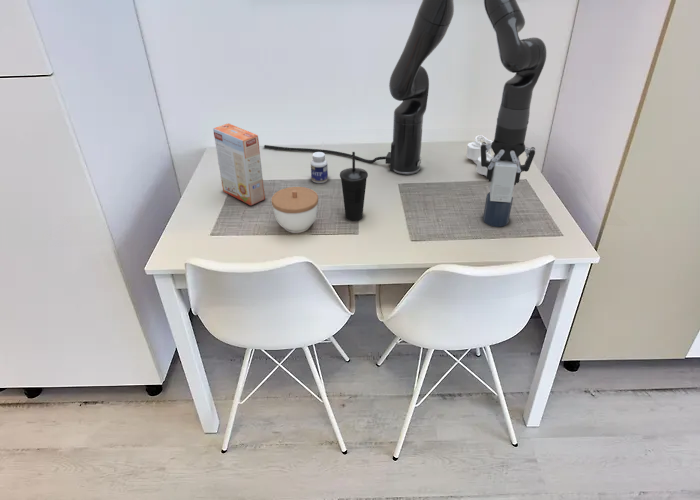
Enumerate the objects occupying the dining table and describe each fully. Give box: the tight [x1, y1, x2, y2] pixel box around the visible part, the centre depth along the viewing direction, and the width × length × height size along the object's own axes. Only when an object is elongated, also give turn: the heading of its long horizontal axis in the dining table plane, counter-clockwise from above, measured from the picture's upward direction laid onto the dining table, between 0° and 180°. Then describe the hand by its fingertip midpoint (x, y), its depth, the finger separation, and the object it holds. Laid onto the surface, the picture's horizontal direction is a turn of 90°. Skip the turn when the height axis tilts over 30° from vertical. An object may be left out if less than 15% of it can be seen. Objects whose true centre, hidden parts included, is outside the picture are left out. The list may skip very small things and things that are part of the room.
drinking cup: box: [339, 151, 369, 222], centre depth 147 cm, size 8×8×20 cm
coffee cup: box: [482, 191, 514, 228], centre depth 148 cm, size 7×7×8 cm
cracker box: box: [212, 122, 266, 206], centre depth 158 cm, size 14×6×21 cm, turn 47°
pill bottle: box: [310, 152, 329, 184], centre depth 169 cm, size 5×5×9 cm
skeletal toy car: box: [465, 134, 494, 178], centre depth 175 cm, size 20×11×7 cm, turn 7°
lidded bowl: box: [270, 186, 319, 234], centre depth 146 cm, size 13×13×11 cm
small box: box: [489, 159, 517, 202], centre depth 143 cm, size 8×6×10 cm
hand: (502, 181), depth 144 cm, fingers closed on small box, 6 cm apart
